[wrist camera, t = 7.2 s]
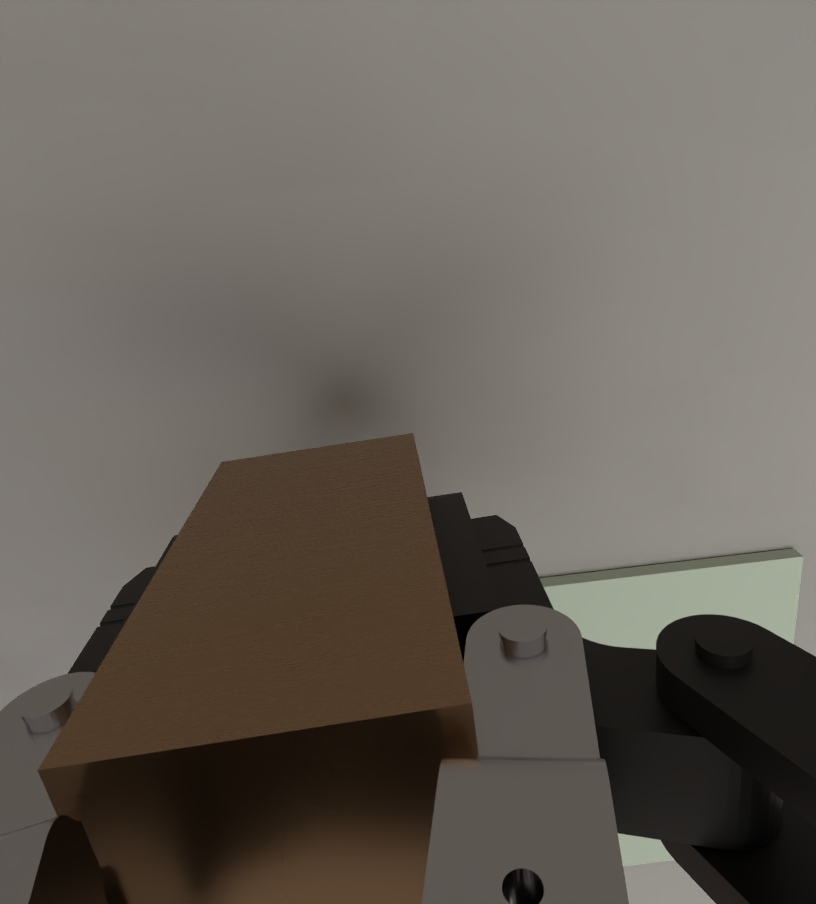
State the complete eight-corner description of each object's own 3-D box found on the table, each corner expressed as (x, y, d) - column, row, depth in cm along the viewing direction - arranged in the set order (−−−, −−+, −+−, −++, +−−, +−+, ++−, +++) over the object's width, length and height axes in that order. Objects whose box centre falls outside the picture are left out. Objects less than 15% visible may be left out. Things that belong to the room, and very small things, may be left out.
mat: (516, 581, 23) (519, 590, 23) (793, 548, 23) (803, 556, 23) (532, 863, 28) (535, 876, 27) (762, 835, 28) (770, 848, 27)
